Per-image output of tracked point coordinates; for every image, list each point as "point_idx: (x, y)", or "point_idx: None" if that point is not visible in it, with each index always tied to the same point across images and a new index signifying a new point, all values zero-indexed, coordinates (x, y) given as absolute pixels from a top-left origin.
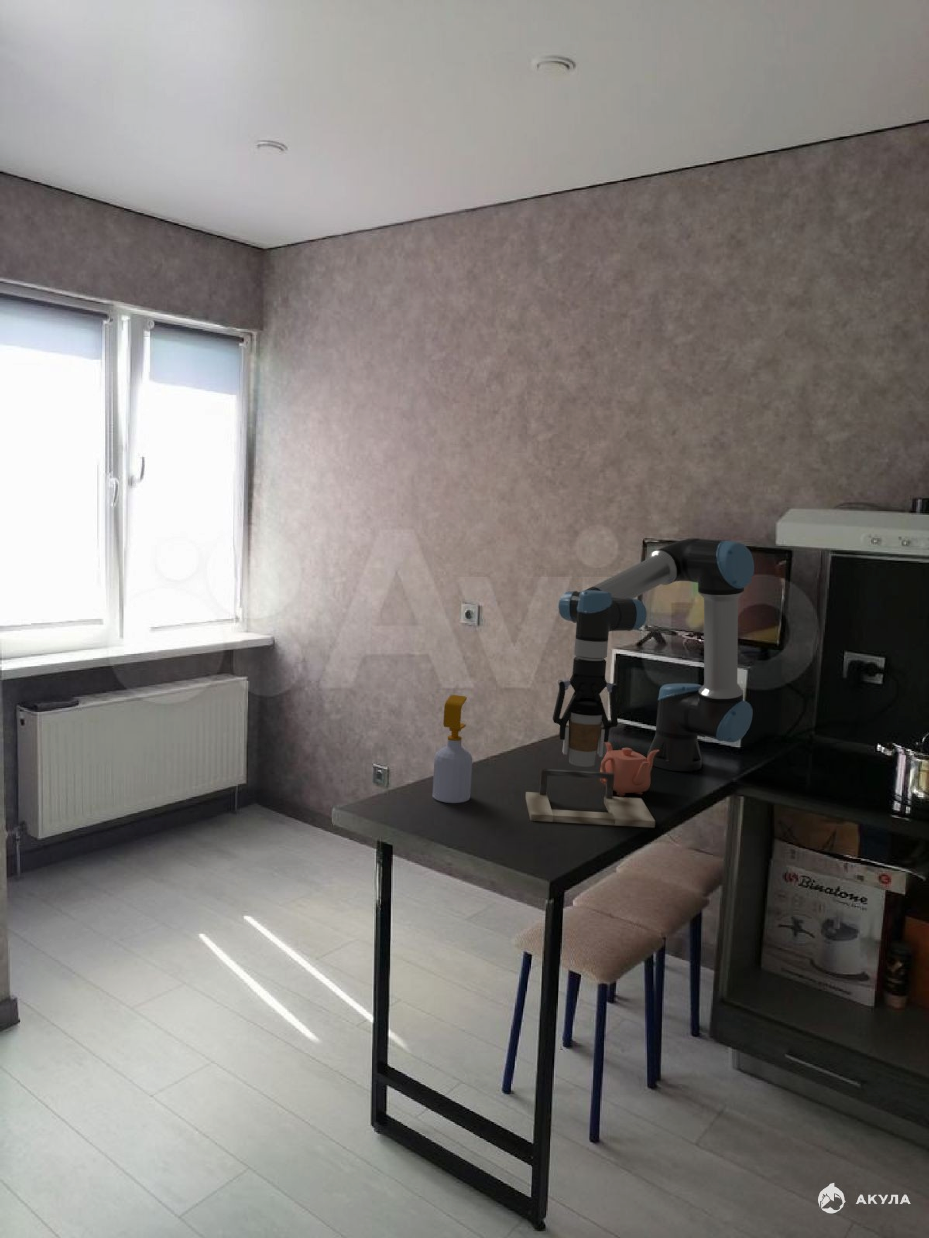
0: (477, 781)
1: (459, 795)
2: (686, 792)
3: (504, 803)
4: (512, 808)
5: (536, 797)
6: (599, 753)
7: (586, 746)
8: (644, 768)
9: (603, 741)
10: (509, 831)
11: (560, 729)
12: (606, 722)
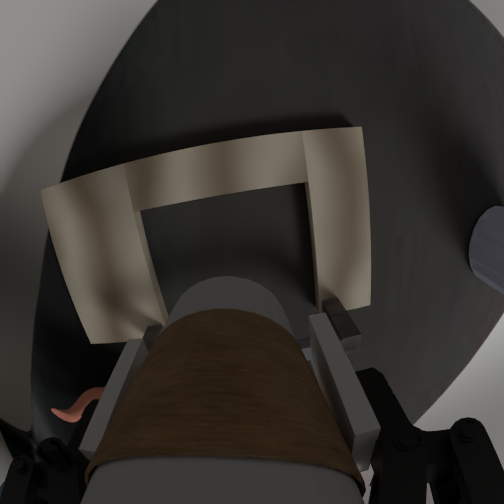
0: (437, 352)
1: (494, 216)
2: (54, 404)
3: (411, 241)
4: (396, 210)
5: (347, 271)
6: (139, 349)
7: (198, 326)
8: (73, 406)
9: (104, 393)
10: (390, 49)
11: (402, 410)
12: (59, 488)
